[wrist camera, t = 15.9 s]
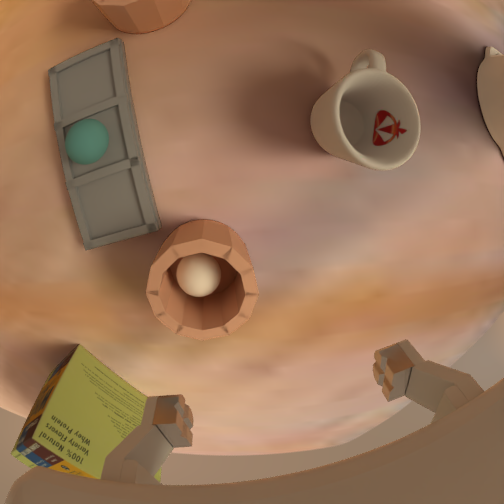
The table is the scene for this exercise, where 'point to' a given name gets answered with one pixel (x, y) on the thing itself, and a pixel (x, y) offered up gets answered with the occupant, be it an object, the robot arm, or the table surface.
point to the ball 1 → (86, 141)
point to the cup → (367, 116)
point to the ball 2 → (198, 274)
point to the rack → (118, 151)
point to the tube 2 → (210, 306)
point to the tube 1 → (141, 13)
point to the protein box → (79, 417)
